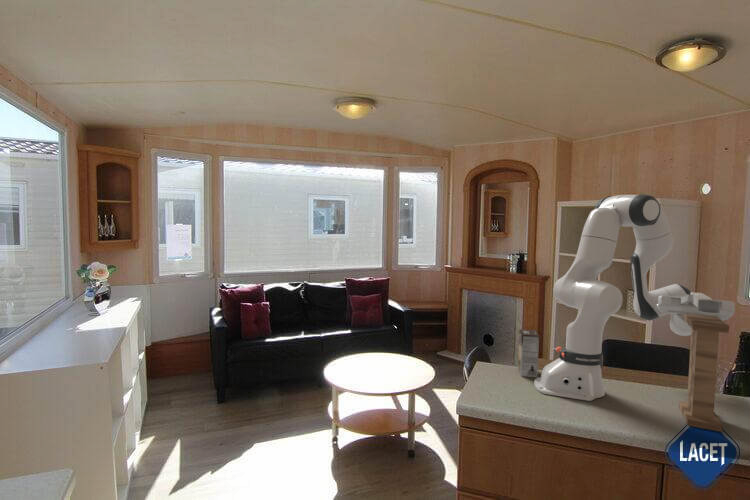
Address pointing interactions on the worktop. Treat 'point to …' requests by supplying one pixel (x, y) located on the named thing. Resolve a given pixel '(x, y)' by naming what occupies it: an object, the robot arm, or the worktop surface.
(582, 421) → the worktop surface
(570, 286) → the robot arm
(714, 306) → the jaw bar
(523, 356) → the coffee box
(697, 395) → the stand
